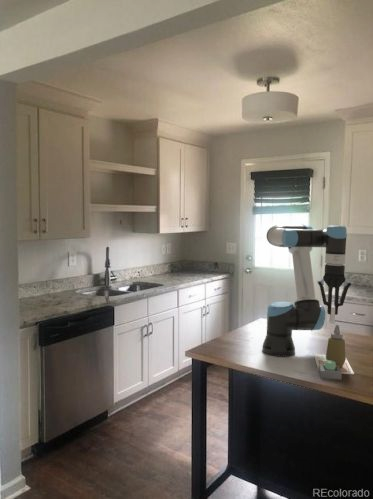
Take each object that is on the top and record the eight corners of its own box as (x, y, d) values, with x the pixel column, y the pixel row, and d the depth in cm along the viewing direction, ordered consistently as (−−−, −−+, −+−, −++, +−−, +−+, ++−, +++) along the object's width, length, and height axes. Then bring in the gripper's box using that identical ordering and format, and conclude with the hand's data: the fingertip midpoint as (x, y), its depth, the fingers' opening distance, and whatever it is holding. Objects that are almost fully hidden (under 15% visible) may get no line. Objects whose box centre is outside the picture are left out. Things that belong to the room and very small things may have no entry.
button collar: (320, 377, 169) (320, 370, 169) (318, 370, 177) (318, 363, 177) (341, 379, 168) (341, 372, 168) (338, 372, 176) (338, 365, 175)
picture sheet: (318, 371, 176) (318, 370, 176) (313, 355, 197) (313, 353, 197) (354, 374, 174) (354, 373, 173) (345, 357, 194) (345, 356, 194)
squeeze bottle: (341, 363, 185) (343, 322, 184) (348, 369, 177) (350, 327, 176) (322, 362, 185) (324, 322, 183) (329, 369, 177) (331, 327, 175)
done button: (324, 375, 171) (325, 363, 170) (323, 371, 175) (324, 359, 175) (335, 376, 170) (336, 364, 170) (334, 372, 174) (334, 360, 174)
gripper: (318, 264, 166) (316, 323, 168) (353, 266, 164) (350, 325, 166) (316, 262, 174) (314, 318, 176) (350, 263, 171) (347, 321, 173)
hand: (332, 322), depth 171 cm, fingers closed
